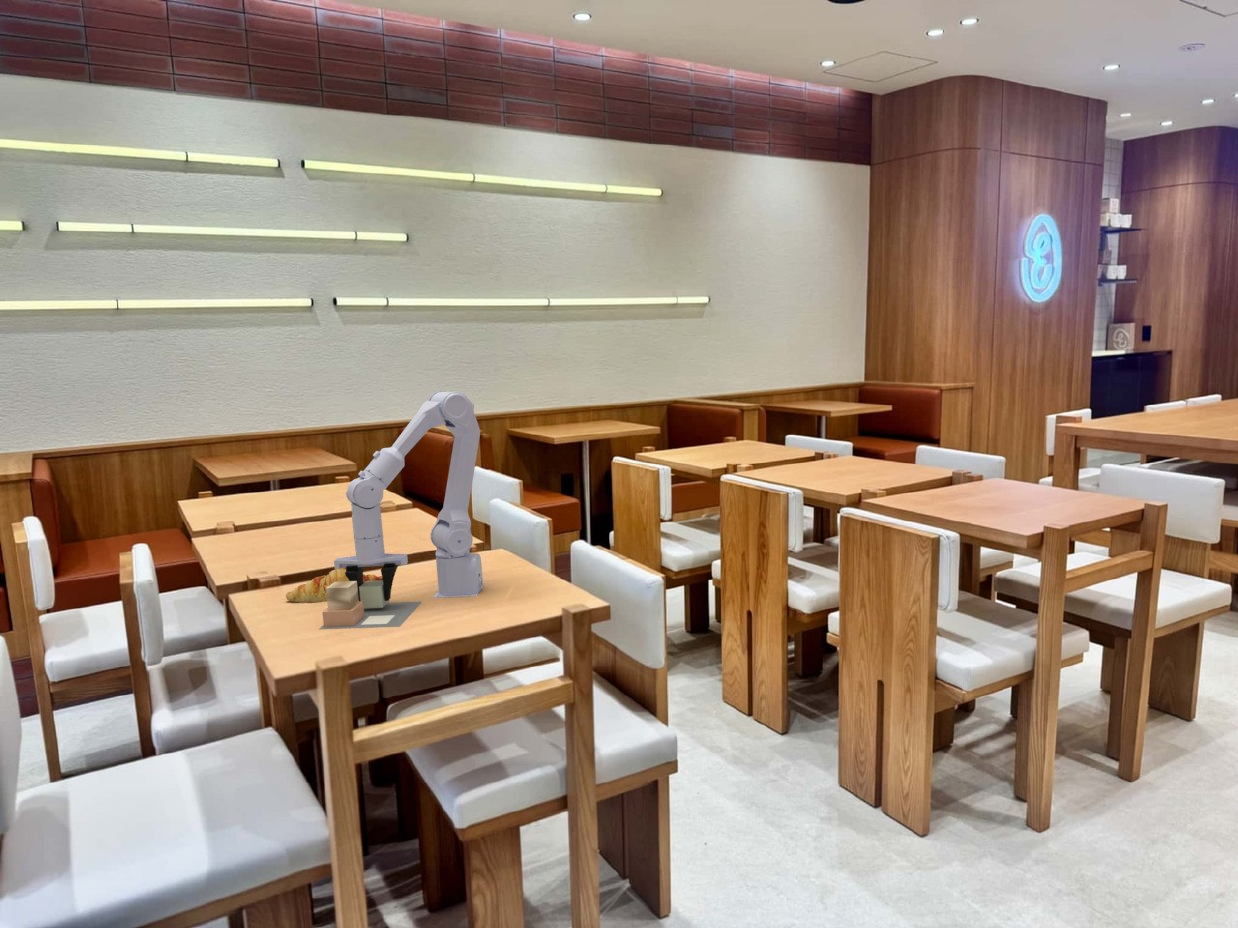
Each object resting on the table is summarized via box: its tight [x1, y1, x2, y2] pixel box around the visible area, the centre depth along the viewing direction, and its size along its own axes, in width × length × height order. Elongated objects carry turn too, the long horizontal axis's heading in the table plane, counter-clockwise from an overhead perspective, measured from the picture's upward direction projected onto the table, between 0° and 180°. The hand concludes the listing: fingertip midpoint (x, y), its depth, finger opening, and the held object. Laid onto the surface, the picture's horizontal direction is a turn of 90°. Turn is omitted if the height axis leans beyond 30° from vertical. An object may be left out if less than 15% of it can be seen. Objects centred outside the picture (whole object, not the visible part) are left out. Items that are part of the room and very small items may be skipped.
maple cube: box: [326, 581, 359, 610], centre depth 165 cm, size 4×4×4 cm
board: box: [318, 601, 423, 630], centre depth 169 cm, size 16×16×1 cm
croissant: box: [285, 568, 383, 604], centre depth 185 cm, size 21×10×8 cm, turn 113°
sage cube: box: [359, 580, 390, 608], centre depth 173 cm, size 4×4×4 cm
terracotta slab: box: [321, 602, 365, 627], centre depth 166 cm, size 6×6×3 cm
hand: (375, 600), depth 174 cm, fingers closed on sage cube, 5 cm apart
